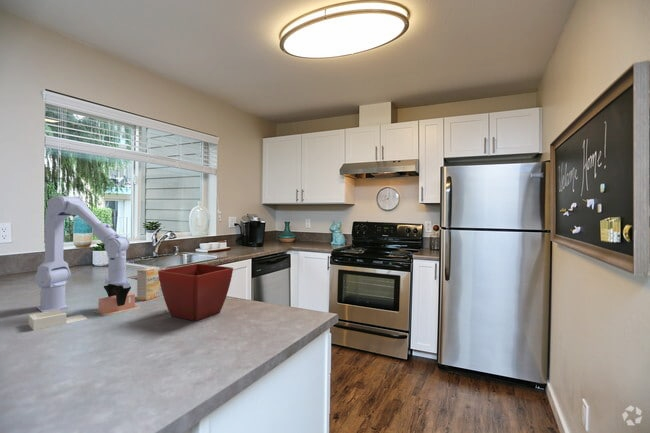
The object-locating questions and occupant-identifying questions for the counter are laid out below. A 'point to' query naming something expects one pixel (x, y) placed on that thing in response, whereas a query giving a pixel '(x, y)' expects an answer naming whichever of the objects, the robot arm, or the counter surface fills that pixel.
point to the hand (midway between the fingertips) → (117, 304)
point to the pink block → (115, 304)
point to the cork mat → (120, 310)
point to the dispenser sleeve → (53, 319)
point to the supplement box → (148, 283)
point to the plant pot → (195, 289)
